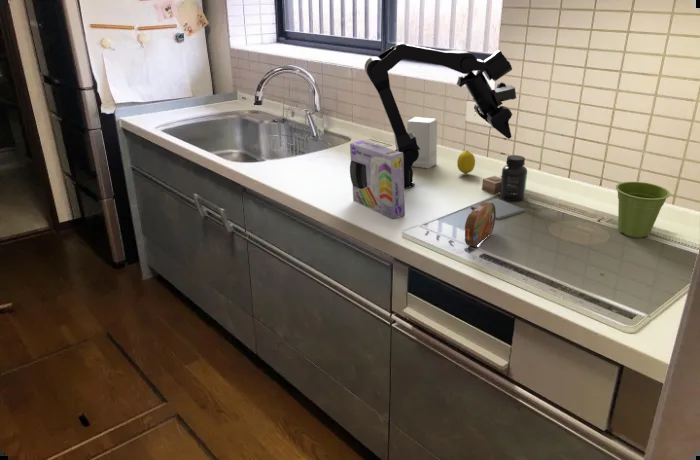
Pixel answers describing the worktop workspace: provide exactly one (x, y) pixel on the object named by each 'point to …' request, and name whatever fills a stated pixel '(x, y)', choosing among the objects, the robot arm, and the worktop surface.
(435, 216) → the worktop surface
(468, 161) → the lemon
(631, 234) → the plant pot
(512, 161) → the supplement bottle
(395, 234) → the worktop surface
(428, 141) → the skincare box
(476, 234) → the tin
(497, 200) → the slate mat
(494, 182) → the wooden letter block
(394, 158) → the cake pan box
